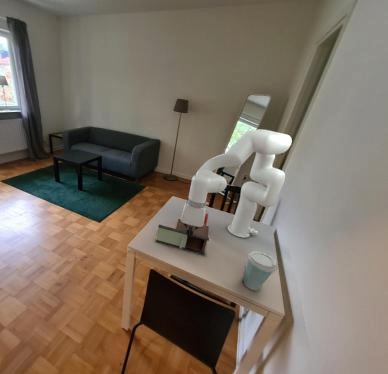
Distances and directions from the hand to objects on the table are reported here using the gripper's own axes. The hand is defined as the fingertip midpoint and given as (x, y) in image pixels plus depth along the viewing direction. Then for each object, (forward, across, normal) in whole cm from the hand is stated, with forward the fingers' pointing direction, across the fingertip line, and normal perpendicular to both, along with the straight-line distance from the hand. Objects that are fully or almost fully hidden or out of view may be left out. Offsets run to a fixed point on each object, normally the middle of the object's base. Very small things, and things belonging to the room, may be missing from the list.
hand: (188, 235), depth 102 cm
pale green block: (+9, +8, -1) cm, 13 cm away
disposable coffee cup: (+11, -30, +8) cm, 33 cm away
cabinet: (+11, +3, -7) cm, 13 cm away
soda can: (+11, -5, -24) cm, 27 cm away
